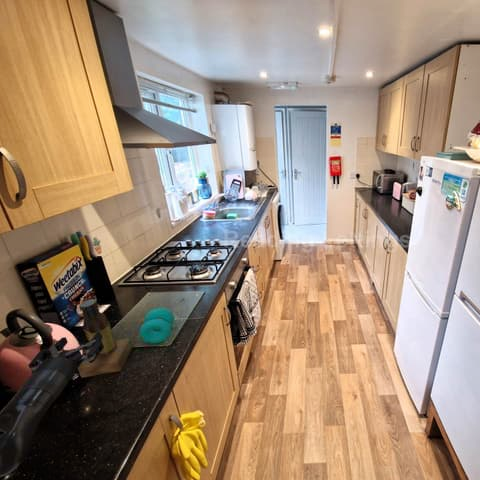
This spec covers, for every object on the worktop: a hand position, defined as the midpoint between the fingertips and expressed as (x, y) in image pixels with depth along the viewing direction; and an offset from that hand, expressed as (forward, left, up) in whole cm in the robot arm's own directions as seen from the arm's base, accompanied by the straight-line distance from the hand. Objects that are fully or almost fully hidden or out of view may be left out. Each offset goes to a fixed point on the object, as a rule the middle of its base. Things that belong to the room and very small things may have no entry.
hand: (82, 337), depth 78 cm
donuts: (+8, +20, -17) cm, 27 cm away
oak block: (-2, +7, -17) cm, 18 cm away
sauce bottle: (-2, +7, -13) cm, 15 cm away
